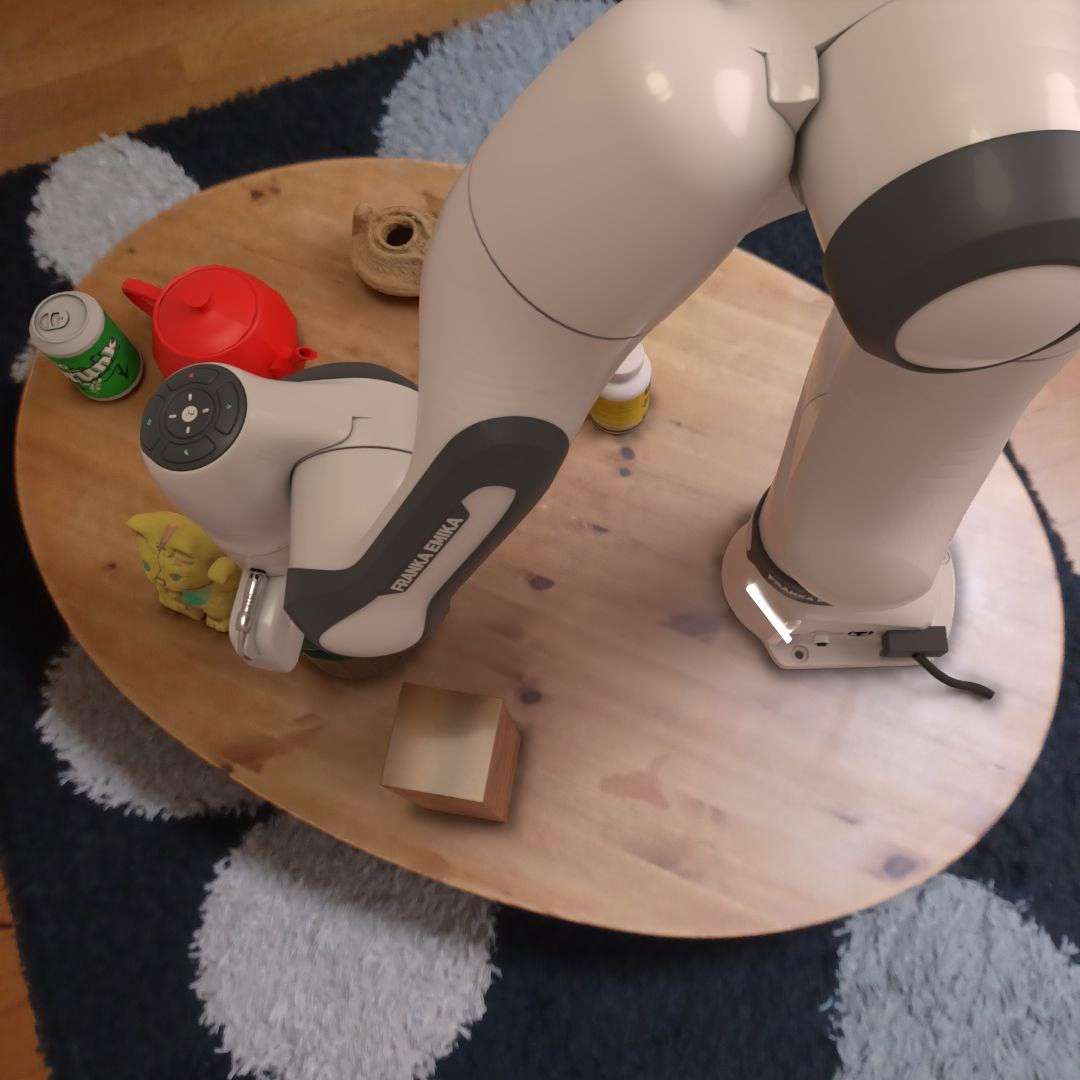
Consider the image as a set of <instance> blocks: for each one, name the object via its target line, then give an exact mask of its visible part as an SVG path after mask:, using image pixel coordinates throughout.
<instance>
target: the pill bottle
mask: <svg viewBox="0 0 1080 1080" xmlns="http://www.w3.org/2000/svg"><path fill="white" fill-rule="evenodd" d="M652 370H653V369H652V364H651V360H650V359H649V357H648V355H647V354H646V352H645V350H644V346H643V344H642V341H641V342H640V343H639V344H638V345H637V346H636V347H635V348H634V350H633V351H632V352H631V353H630V354H629V356H628V357H627V358H626V359H625V361H624V362H623V363H622V364H621V366H620V367H619V368H618V370H617V371H616V372H615V374H614V375H613V377H612V378H611V379H610V381H609V382H608V384H607V385H606V387H605V388H604V389H603V391H602V392H601V394H600V395H599V397H598V398H597V400H596V402H595V403H594V405H593V406H592V408H591V410H590V411H589V413H588V415H589V418H590V419H591V421H592V422H593V424H594V425H595V426H596V427H598V428H599V429H600V430H602V431H604V432H606V433H609V434H610V433H611V434H615V435H616V434H617V435H619V434H626V433H630V432H632V431H635V429H637V428H638V427H640V425H642V423H643V422H644V421H645V419H646V417H647V415H648V412H649V403H650V393H651V385H652V384H651V382H652V374H653V373H652V372H653V371H652Z"/></svg>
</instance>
